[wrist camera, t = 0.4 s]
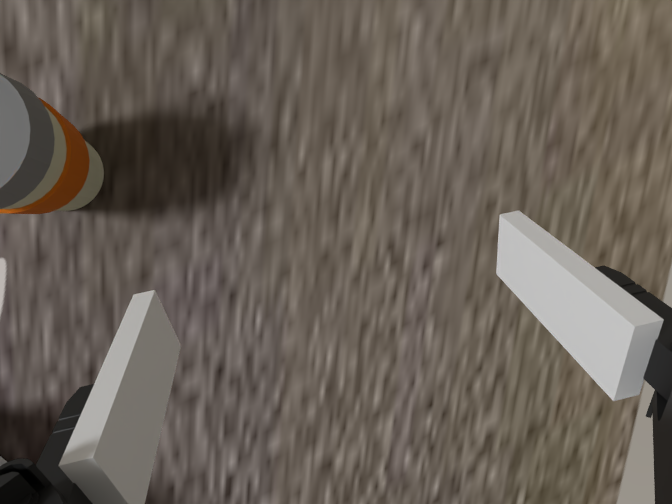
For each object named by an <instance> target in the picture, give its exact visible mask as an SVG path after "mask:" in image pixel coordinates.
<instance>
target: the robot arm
mask: <svg viewBox="0 0 672 504" xmlns="http://www.w3.org/2000/svg"><path fill="white" fill-rule="evenodd" d="M496 274H497V275H498V276H499V277H500V278H501V279H502V280H503V282H504V283H505V284H506V285H507V286H508V287H509V288H510V289H511V290H512V291H513V292H514V293H515V295H516V296H517V297H518V298H519V299H520V300H521V301H522V302H523V303H524V304H525V305H526V307H527V308H528V309H529V310H530V311H531V312H532V313H533V314H534V315H535V316H536V317H537V318H538V320H539V321H540V322H541V323H542V324H543V325H544V326H545V327H546V328H547V329H548V330H549V332H550V333H551V334H552V335H553V336H554V337H555V338H556V339H557V340H558V341H559V342H560V343H561V345H562V346H563V347H564V348H565V349H566V350H567V351H568V352H569V353H570V354H571V355H572V357H573V358H574V359H575V360H576V361H577V362H578V363H579V364H580V365H581V366H582V367H583V368H584V370H585V371H586V372H587V373H588V374H589V375H590V376H591V377H592V378H593V379H594V380H595V382H596V383H597V384H598V385H599V386H600V387H601V388H602V389H603V390H604V391H605V392H606V393H607V395H608V396H609V397H610V398H611V399H612V400H613V401H616V400H620V399H624V398H628V397H632V396H636V395H639V393H640V390H641V387H642V384H643V381H644V379H645V380H646V381H647V382H648V383H649V384H650V385H651V386H652V387H653V388H654V389H655V391H654V394H653V397H652V400H651V403H650V406H649V408H648V411H647V414H646V416H647V417H650V418H651V416H652V413H653V442H654V443H653V445H654V479H655V504H672V308H671V307H669V306H668V305H666V304H665V303H664V302H662V301H661V300H659V299H658V298H657V297H655V296H654V295H652V294H651V293H650V292H648V293H647V292H646V290H645V289H644V288H642V287H641V286H640V285H638V284H637V285H636V284H635V282H634V281H633V280H631V279H630V278H628V277H627V276H626V275H624V274H623V273H621V272H619V271H616V270H614V269H611V268H609V267H606V266H600V267H595V268H594V267H593V266H592V265H590V264H589V263H588V262H586V261H585V260H584V259H583V258H581V257H580V256H579V255H577V254H576V253H575V252H573V251H572V250H571V249H569V248H568V247H567V246H565V245H564V244H563V243H561V242H560V241H559V240H557V239H556V238H555V237H553V236H552V235H551V234H549V233H548V232H547V231H545V230H544V229H543V228H541V227H540V226H539V225H537V224H536V223H535V222H533V221H532V220H531V219H529V218H528V217H527V216H525V215H524V214H523V213H521V212H520V211H514V212H510V213H505V214H500V218H499V236H498V254H497V272H496ZM180 348H181V344H180V342H179V340H178V338H177V336H176V334H175V332H174V330H173V327H172V325H171V323H170V321H169V319H168V317H167V315H166V312H165V310H164V308H163V306H162V304H161V302H160V300H159V298H158V295H157V293H156V291H155V290H152V291H148V292H143V293H139V294H134V295H133V297H132V299H131V302H130V304H129V306H128V309H127V311H126V313H125V315H124V318H123V320H122V322H121V324H120V327H119V329H118V331H117V334H116V336H115V338H114V340H113V343H112V345H111V347H110V349H109V352H108V354H107V356H106V359H105V361H104V363H103V365H102V368H101V370H100V372H99V374H98V377H97V379H96V381H95V384H92V385H88V386H83V387H80V388H79V389H78V390H77V391H76V393H75V394H74V395H73V396H72V397H71V398H70V399H69V400H68V401H67V403H66V405H65V407H64V409H63V411H62V413H61V415H60V417H59V421H57V423H56V425H55V427H54V429H53V431H52V432H53V434H52V435H50V437H49V439H48V441H47V443H46V445H45V448H44V450H43V452H42V454H41V456H40V458H39V460H38V462H37V464H36V465H35V464H34V463H33V462H31V461H30V460H29V459H15V460H12V461H9V462H6V463H4V464H3V465H1V466H0V504H145V500H146V496H147V492H148V487H149V483H150V479H151V474H152V470H153V466H154V461H155V457H156V453H157V448H158V444H159V439H160V435H161V431H162V426H163V422H164V418H165V413H166V409H167V405H168V400H169V396H170V391H171V387H172V383H173V378H174V374H175V370H176V365H177V361H178V357H179V352H180Z"/></svg>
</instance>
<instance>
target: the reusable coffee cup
mask: <svg viewBox="0 0 672 504" xmlns="http://www.w3.org/2000/svg"><path fill="white" fill-rule="evenodd" d="M103 179H104V169H103V163H102V161H101V158H100V156H99V155H98V153H97V151H96V150H95V149H94V148H93V147H92V146H91V145H90V144H89V143H87V142H86V141H85V140H84V139H83V137H82V135H81V134H80V132H79V131H78V130H77V129H76V128H75V127H74V126H73V125H72V124H71V123H70V122H69V121H68V120H66V119H65V118H64V117H63V116H62V115H61V114H60V113H58V112H57V111H56V110H55V109H54V108H53V107H52V106H50V105H49V104H48V103H46V102H45V101H43V100H42V99H40V98H38V97H37V96H36V95H35V94H34V93H33V92H32V91H31V90H30V89H28V88H27V87H26V86H24V85H23V84H22V83H20V82H18V81H16V80H13V79H11V78H9V77H7V76H5V75H3V74H1V73H0V213H8V214H42V213H49V212H52V211H70V210H76V209H78V208H81V207H83V206H85V205H87V204H88V203H89V202H90V201H92V200H93V199H94V198H95V196H96V195H97V194H98V192H99V190H100V188H101V186H102V183H103Z"/></svg>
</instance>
